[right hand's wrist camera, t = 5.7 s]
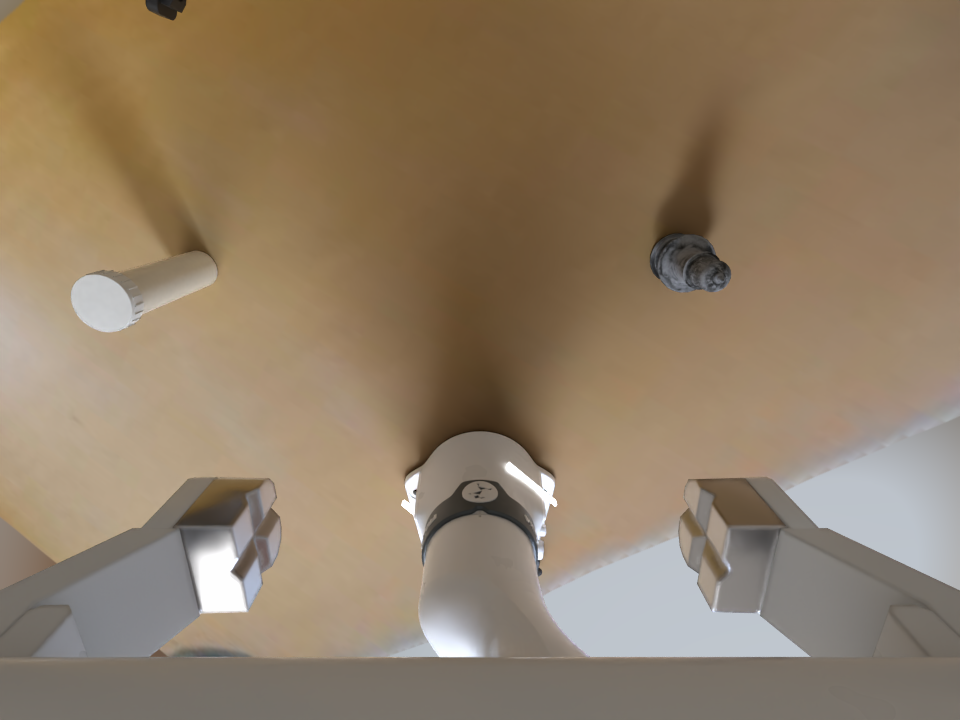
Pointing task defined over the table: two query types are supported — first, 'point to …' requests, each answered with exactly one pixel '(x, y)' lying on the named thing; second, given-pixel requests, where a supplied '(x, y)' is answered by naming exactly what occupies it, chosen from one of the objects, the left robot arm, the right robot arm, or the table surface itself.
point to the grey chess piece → (688, 264)
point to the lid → (107, 301)
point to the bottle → (172, 278)
